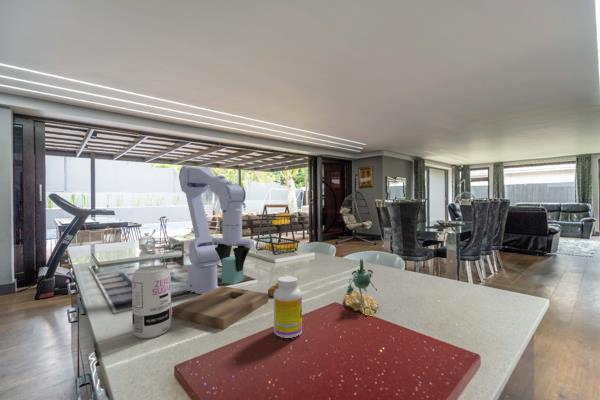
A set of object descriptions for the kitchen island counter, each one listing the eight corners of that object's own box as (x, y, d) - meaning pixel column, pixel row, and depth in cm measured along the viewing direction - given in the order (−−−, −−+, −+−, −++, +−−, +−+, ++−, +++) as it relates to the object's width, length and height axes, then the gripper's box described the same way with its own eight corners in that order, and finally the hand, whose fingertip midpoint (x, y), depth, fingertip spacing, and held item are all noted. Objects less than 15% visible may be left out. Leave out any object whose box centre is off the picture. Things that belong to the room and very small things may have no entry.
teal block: (221, 282, 85) (221, 259, 85) (231, 278, 89) (231, 256, 89) (234, 284, 83) (233, 260, 83) (243, 280, 87) (243, 257, 87)
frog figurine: (368, 294, 94) (370, 250, 92) (387, 324, 76) (389, 271, 74) (339, 294, 93) (340, 250, 92) (351, 325, 76) (353, 271, 74)
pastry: (275, 300, 89) (275, 288, 89) (263, 294, 94) (262, 283, 94) (297, 293, 95) (297, 281, 95) (285, 288, 100) (285, 277, 100)
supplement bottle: (305, 338, 64) (304, 281, 64) (275, 341, 63) (275, 284, 63) (298, 325, 71) (298, 274, 71) (272, 328, 70) (271, 275, 69)
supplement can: (142, 324, 72) (141, 265, 72) (176, 323, 73) (175, 264, 73) (125, 340, 64) (124, 274, 64) (163, 338, 65) (162, 273, 65)
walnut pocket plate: (171, 316, 77) (171, 307, 77) (222, 293, 95) (222, 285, 95) (223, 329, 69) (223, 319, 69) (268, 301, 87) (268, 293, 87)
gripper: (204, 225, 85) (204, 270, 86) (243, 227, 79) (244, 276, 79) (220, 223, 92) (221, 265, 92) (258, 224, 85) (258, 270, 86)
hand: (232, 269), depth 86 cm, fingers closed on teal block, 4 cm apart
